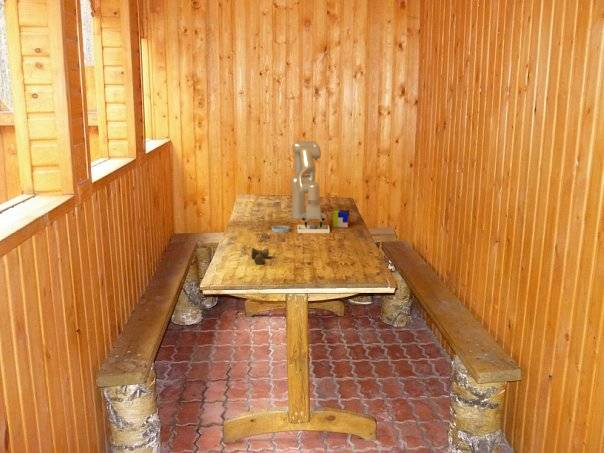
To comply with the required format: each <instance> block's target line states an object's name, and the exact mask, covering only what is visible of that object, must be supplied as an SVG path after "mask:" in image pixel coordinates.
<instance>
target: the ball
mask: <svg viewBox="0 0 604 453" xmlns="http://www.w3.org/2000/svg"><path fill="white" fill-rule="evenodd" d="M309 225H310V229H317V225H318V224H316V223H310V224H309Z"/></svg>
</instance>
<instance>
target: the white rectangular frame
mask: <svg viewBox="0 0 604 453" xmlns="http://www.w3.org/2000/svg"><path fill="white" fill-rule="evenodd" d="M310 225H311V224H307V228H306V226H305V224H297V234H330V225H329V224H322V226H321V228H320V224H316V225H317V229H310Z"/></svg>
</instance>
